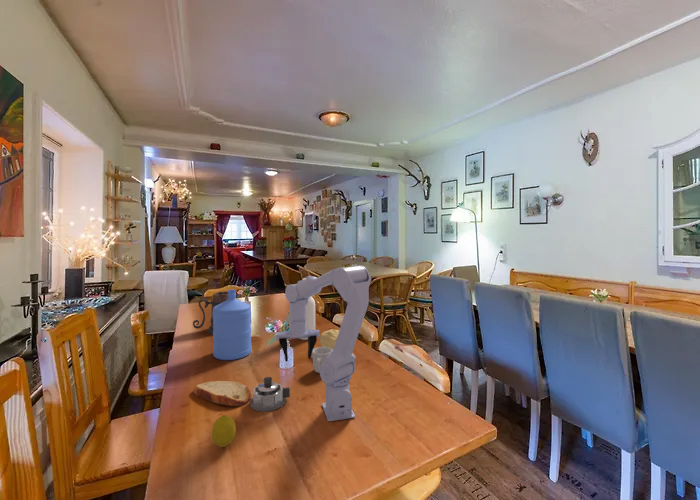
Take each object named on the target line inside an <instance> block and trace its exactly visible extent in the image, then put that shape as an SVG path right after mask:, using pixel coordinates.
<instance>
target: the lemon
mask: <svg viewBox="0 0 700 500" xmlns="http://www.w3.org/2000/svg"><path fill="white" fill-rule="evenodd" d="M236 427H237V426H236V423H235V421H234V418H232V416H230V415H226V414H225V415H224V414H223V415H221V416H219V417H217V419H216V420H215V421H214V422H213V425H212V427H211V438H212V442H213V443H214V445H216V446H217V447H222V448H226V447H227V446H228V445H229V444H231V443H232V442H233V440H234V438H235V436H236Z"/></svg>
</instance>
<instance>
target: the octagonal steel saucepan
mask: <svg viewBox="0 0 700 500" xmlns="http://www.w3.org/2000/svg"><path fill="white" fill-rule="evenodd" d="M277 384H278V388H277V389H276V390H275V391H273V392H274V393H275V394H274V395H266V396H262V395H261V394H263V392H260V391H259V390H258V386H259V385H260V384H258V385H257V386H255V387H253V390H252V391H253V392H252V396H253V397H252V398H253V405H254V406H256V407H258V408H261V409H262V408H263V409H266V408H273V407H276V406H277V405H279V404H280V403H282V402H283V398H286V399H287V398H290V394H291V393H290V391H291V390H290V387H289V386H288V387H283V385H282V384H280V383H277Z"/></svg>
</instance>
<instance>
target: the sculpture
mask: <svg viewBox="0 0 700 500" xmlns="http://www.w3.org/2000/svg"><path fill="white" fill-rule="evenodd" d="M339 330H340V329H333V328H331V329H329V330H326V331H323V332H322V333H320V337H319V342H320V345H321V347H328V348H331V349H332V350H334V346H335V343H336V340H337V337H338V334H339Z"/></svg>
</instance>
